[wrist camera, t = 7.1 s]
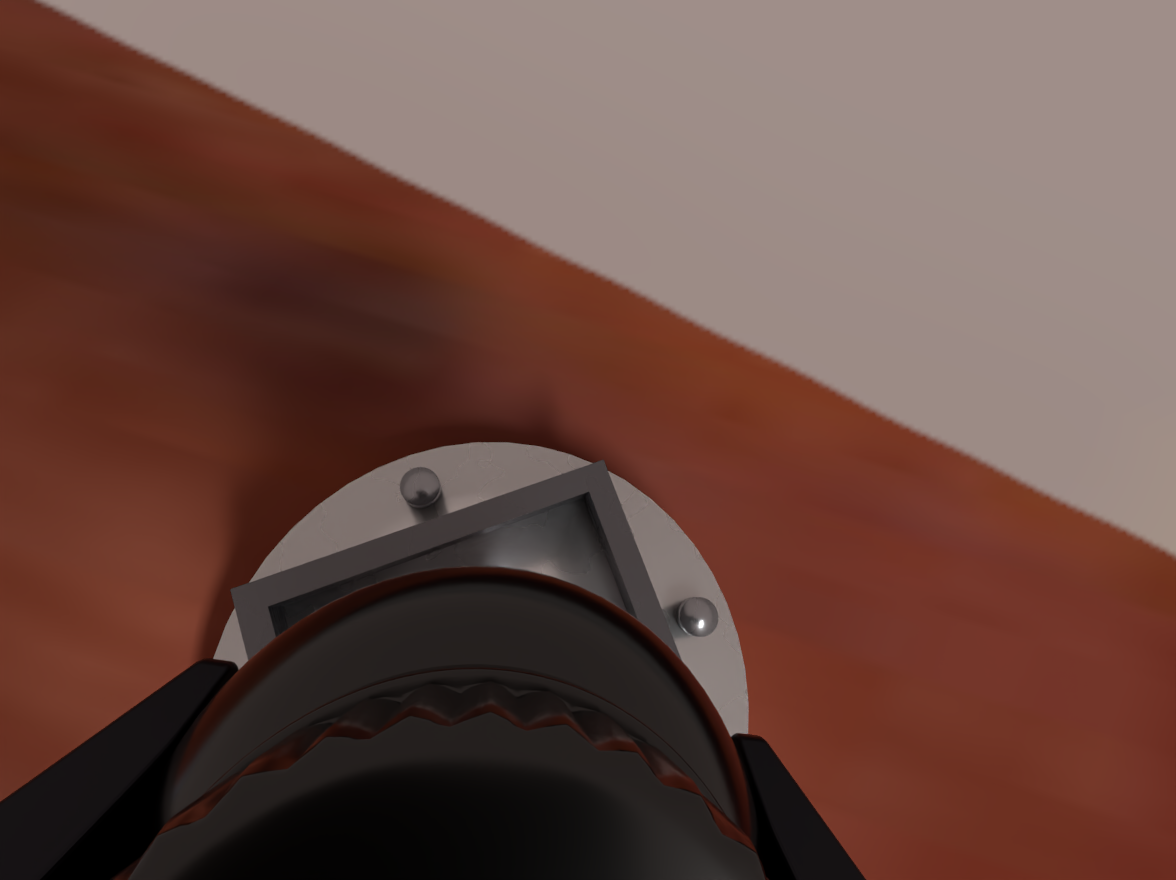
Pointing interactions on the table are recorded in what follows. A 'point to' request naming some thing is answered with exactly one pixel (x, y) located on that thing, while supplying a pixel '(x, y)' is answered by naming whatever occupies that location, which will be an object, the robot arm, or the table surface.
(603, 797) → the supplement bottle
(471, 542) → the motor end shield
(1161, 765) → the table surface
